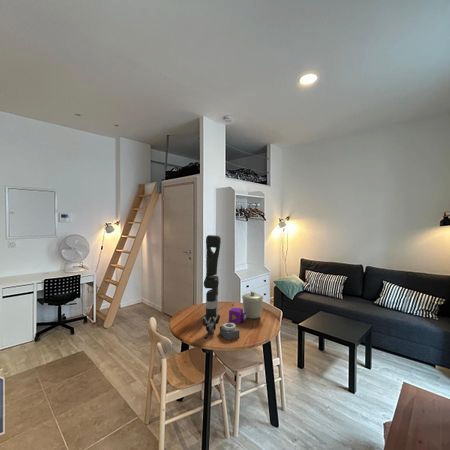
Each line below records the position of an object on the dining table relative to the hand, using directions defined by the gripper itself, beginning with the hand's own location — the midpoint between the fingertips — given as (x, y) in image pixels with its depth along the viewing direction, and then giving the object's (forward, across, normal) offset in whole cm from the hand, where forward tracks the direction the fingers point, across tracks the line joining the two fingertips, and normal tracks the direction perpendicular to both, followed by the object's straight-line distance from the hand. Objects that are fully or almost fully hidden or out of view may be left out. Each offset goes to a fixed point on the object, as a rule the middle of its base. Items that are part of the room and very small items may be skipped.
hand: (210, 330), depth 172 cm
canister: (+2, -44, -12) cm, 46 cm away
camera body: (+2, -10, +9) cm, 14 cm away
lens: (+2, 0, 0) cm, 2 cm away
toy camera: (+2, -28, -9) cm, 29 cm away
